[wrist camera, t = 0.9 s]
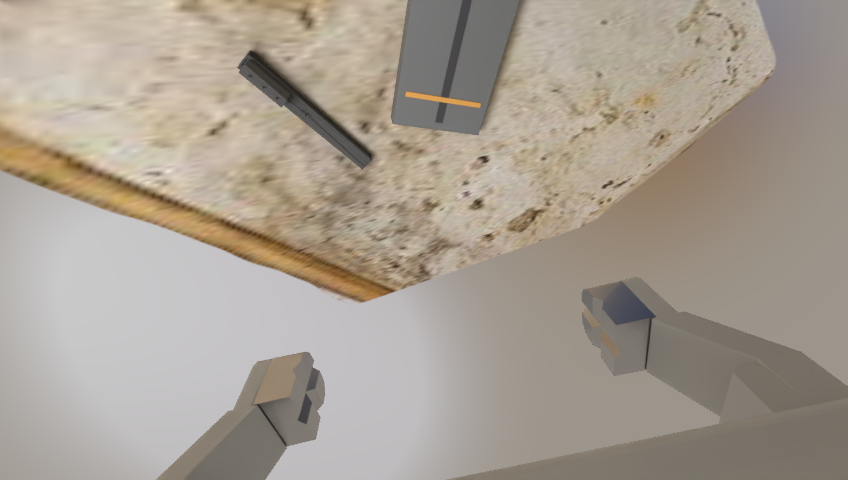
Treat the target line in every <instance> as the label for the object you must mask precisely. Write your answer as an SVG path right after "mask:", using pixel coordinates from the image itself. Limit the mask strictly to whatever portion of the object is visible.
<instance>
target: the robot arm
mask: <svg viewBox="0 0 848 480" xmlns="http://www.w3.org/2000/svg"><path fill="white" fill-rule="evenodd" d="M582 302H583V303H584V304H585V305H586V308H585V309H584V311H583V312H582V320H583V325H584V329H585V332H586V334H587V336H588V338H589V339H590V341H591V343H592V344H593V345H595V346H597V347H598V348H600V349H601V358H602V359H603V360H604V362H605V363H606V365H607V366H608V368H609V369H610V371H611V372H612V374H613V375H614V376H615V375H620V374H626V373H631V372H637V371H642V370H646V371H647V372H648V373H650V374H651V375H653V376H655V377H656V378H658V379H660V380H661V381H663V382H664V383H666V384H668V385H669V386H671V387H673V388H674V389H676V390H678V391H679V392H681V393H683V394H684V395H686V396H687V397H689V398H691V399H692V400H694V401H696V402H697V403H699V404H701V405H702V406H704V407H705V408H707V409H709V410H710V411H712V412H714V413H715V414H717V415H719V416H720V417H721V418H720V422H719V424H717V425H712V426H707V427H702V428H697V429H692V430H687V431H682V432H678V433H673V434H668V435H663V436H658V437H653V438H648V439H643V440H638V441H633V442H629V443H624V444H619V445H614V446H609V447H604V448H600V449H595V450H590V451H585V452H580V453H575V454H570V455H565V456H560V457H556V458H551V459H546V460H541V461H536V462H531V463H527V464H522V465H517V466H512V467H507V468H502V469H498V470H493V471H488V472H483V473H478V474H473V475H468V476H463V477H458V478H453V479H448V480H848V386H846V385H845V384H844V383H842V382H841V381H840V380H838V379H837V378H836V377H834V376H833V375H832V374H830V373H829V372H827V371H826V370H825V369H824V368H822V367H821V366H819V365H818V364H817V363H815V362H814V361H813V360H811V359H810V358H808V357H807V356H806V355H805V354H803V353H802V352H800V351H797V350H794V349H791V348H789V347H786V346H783V345H780V344H777V343H774V342H771V341H768V340H765V339H763V338H760V337H757V336H754V335H751V334H748V333H745V332H742V331H739V330H736V329H734V328H731V327H728V326H725V325H722V324H719V323H716V322H713V321H710V320H708V319H705V318H702V317H699V316H696V315H693V314H690V313H687V312H679V313H678V312H677V311H676V310H675V309H674V308H673V307H672V306H670V304H668V303H667V302H666V301H665V300H664V299H663V298H662V297H661V296H659V294H658V293H656V292H655V291H654V290H653V289H652V288H651V287H650V286H648V284H646V283H645V282H644V281H643V280H642V279H641V278H639V277H633V278H629V279H625V280H621V281H618V282H614V283H609V284H605V285H600V286H596V287H592V288H588V289H584V290H583V292H582ZM313 362H314V360H313V358H312V356H311V355H310V353H308V352H302V353H298V354H292V355H287V356H283V357H277V358H274V359H269V360H264V361H259V362H257V363H256V364H255V365H254V366H253V368H252V370H251V372H250V374H249V377H248V379H247V381H246V383H245V385H244V387H243V390H242V392H241V394H240V396H239V399H238V401H237V403H236V405H235V407H234V410H232V411H228V412H227V413H226V414H225V415H224V416H222V417H221V418H220V419H219V421H217V422H216V423H215V424H214V425H213V426H212V427H211V428H210V429H209V430H208V431H207V432H206V433H205V434H204V435H203V436H201V437H200V438H199V439H198V440H197V441H196V442H195V443H194V444H193V445H192V446H191V447H190V448H189V449H188V450H187V451H186V452H185V453H184V454H183V455H181V456H180V457H179V459H177V460H176V461H175V462H174V463H173V464H172V465H171V466H170V467H169V468H168V469H167V470H166V471H165V472H164V473H163V474H161V476H159V477H158V478H157V479H156V480H265V479H266V478H267V476H268V475H269V473H270V472H271V470H272V469H273V467H274V466H275V465H276V463H277V462H278V460H279V459H280V457H281V456H282V454H283V453H284V451H285V450H286V449H287V447H286V446H290V445H294V444H298V443H302V442H306V441H310V440H315V439H316V436H317V431H318V426H319V421H320V416H319V414H318V412H317V410H318V409H319V408H320V407H321V405H322V404H323V402H324V396H325V386H324V381H323V378H322V375H321V373H320V371H319V370H317V369H315V368H313V367H312V366H313Z"/></svg>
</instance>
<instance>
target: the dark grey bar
mask: <svg viewBox="0 0 848 480" xmlns="http://www.w3.org/2000/svg"><path fill="white" fill-rule="evenodd" d="M237 68H238V69H240V71H239V73H240V74H241V75H242V76H244V77H245V78H246V79H247V80H249V81H250V82H251V83H252V84H253V85H255V86H256V87H257V88H258V89H260V90H261V91H262V92H263V93H265V94H266V95H267V96H268V97H269V98H271V99H272V100H273V101H274V102H276V103H277V104H278V105H279V106H280V107H282V106H283V105H284V106H285V107H287V108H288V109H289V110H290V111H291V112H293V113H294V114H295V115H296V116H298V117H299V118H300V119H301V120H302V121H304V122H305V123H306V124H307V125H309V126H310V127H311V128H312V129H314V130H315V131H316V132H317V133H318V134H320V135H321V136H322V137H323V138H325V139H326V140H327V141H328V142H329V143H331V144H332V145H333V146H334V147H336V148H337V149H338V150H339V151H341V152H342V153H343V154H344V155H345V156H347V157H348V158H349V159H350V160H352V161H353V162H354V163H355V164H356V165H358V166H359V167H360V168H361V169H363V168H364V167H365V166H366V165H367V164H368V163H369V162H370V161H371V160H372V158H371V154H369V153H368V152H367V151H366V150H365V149H364V148H362V147H361V146H360V145H359V144H358V143H357V142H355V141H354V140H353V139H352V138H351V137H350V136H349V135H347V134H346V133H345V132H344V131H343V130H342V129H340V128H339V127H338V126H337V125H336V124H335V123H333V122H332V121H331V120H330V119H329V118H328V117H326V116H325V115H324V114H323V113H322V112H321V111H319V110H318V109H317V108H316V107H315V106H314V105H313V104H311V103H310V102H309V101H308V100H307V99H306V98H304V97H303V96H302V95H301V94H300V93H299V92H297V91H296V90H295V89H294V88H293V87H292V86H290V85H289V84H288V83H287V82H286V81H285V80H283V79H282V78H281V77H280V76H279V75H278V74H277V73H275V72H274V71H273V70H272V69H271V68H270V67H268V66H267V65H266V64H265V63H264V62H263V61H261V60H260V59H259V58H258V57H257V56H256V55H254V54H253V53H252V51H249V53H248V54H247V55H246V56H245V57H244V59H243V60H242V61H241V63H240V64H239V66H238V67H237Z"/></svg>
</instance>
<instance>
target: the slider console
mask: <svg viewBox="0 0 848 480" xmlns="http://www.w3.org/2000/svg"><path fill="white" fill-rule="evenodd" d="M519 1H520V0H408V4H407V11H406V18H405V24H404V31H403V38H402V45H401V52H400V58H399V65H398V72H397V79H396V86H395V92H394V99H393V106H392V113H391V119H392V122H393V124H398V125H405V126H413V127H420V128H428V129H435V130H443V131H450V132H458V133H465V134H473V135H479V131H480V128H481V125H482V122H483V118H484V115H485V112H486V109H487V105H488V102H489V99H490V96H491V92H492V89H493V86H494V83H495V79H496V76H497V73H498V69H499V66H500V63H501V60H502V56H503V53H504V50H505V47H506V43H507V40H508V37H509V34H510V30H511V27H512V24H513V21H514V17H515V14H516V11H517V8H518V4H519Z"/></svg>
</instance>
